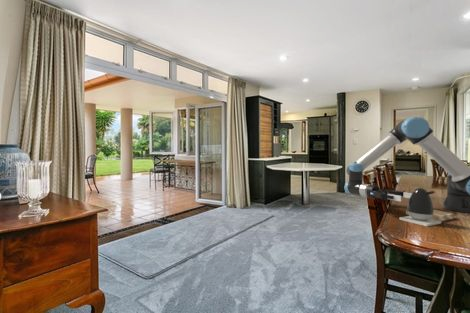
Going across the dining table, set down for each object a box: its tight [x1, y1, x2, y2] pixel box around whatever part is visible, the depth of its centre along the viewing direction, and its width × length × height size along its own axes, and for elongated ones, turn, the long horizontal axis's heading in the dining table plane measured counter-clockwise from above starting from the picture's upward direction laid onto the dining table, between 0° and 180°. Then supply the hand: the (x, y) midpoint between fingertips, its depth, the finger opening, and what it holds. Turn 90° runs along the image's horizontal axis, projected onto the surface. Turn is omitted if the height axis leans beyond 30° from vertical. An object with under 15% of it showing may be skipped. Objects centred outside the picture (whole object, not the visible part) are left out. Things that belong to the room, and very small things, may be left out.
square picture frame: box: [405, 209, 454, 222], centre depth 129 cm, size 15×15×2 cm
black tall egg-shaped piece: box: [406, 187, 436, 221], centre depth 119 cm, size 10×10×15 cm
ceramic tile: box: [399, 215, 442, 227], centre depth 119 cm, size 12×12×1 cm
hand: (409, 197), depth 123 cm, fingers open, 13 cm apart
